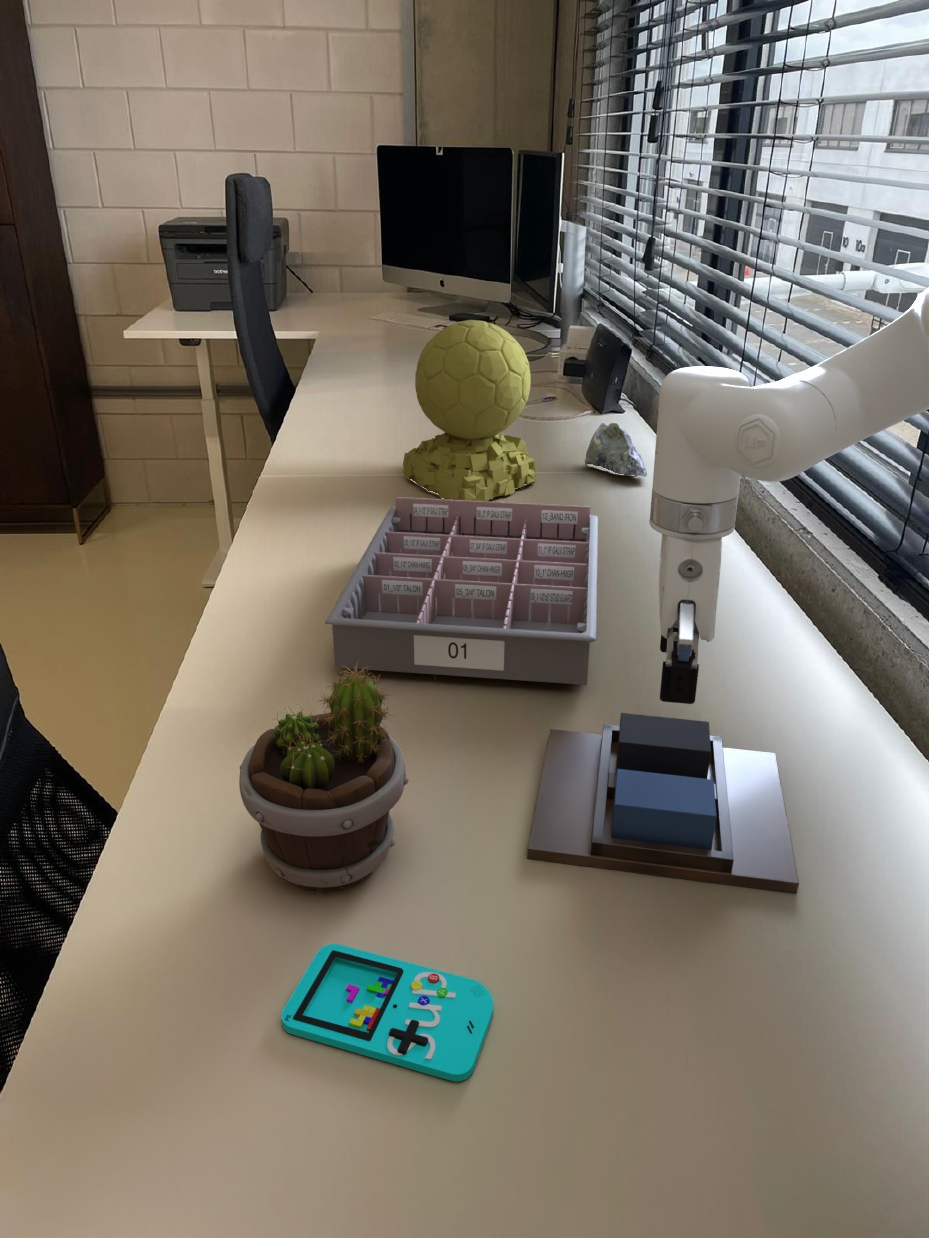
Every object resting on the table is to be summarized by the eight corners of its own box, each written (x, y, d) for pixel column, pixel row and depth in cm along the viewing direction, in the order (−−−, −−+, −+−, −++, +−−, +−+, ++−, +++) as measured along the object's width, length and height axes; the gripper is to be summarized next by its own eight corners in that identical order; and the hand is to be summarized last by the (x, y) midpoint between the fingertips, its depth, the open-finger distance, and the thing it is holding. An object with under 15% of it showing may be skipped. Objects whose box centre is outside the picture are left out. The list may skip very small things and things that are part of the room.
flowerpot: (258, 931, 79) (232, 732, 70) (243, 817, 92) (220, 637, 83) (426, 896, 83) (423, 703, 74) (389, 792, 96) (382, 617, 87)
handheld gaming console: (468, 1075, 66) (275, 1020, 70) (468, 1085, 66) (276, 1029, 70) (501, 984, 73) (324, 938, 77) (501, 993, 73) (325, 947, 78)
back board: (773, 762, 101) (777, 741, 100) (796, 893, 83) (802, 870, 82) (549, 737, 105) (550, 717, 104) (526, 858, 87) (527, 835, 86)
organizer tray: (328, 680, 116) (322, 607, 111) (392, 552, 151) (390, 493, 146) (592, 699, 112) (597, 624, 107) (594, 563, 147) (599, 503, 143)
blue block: (707, 817, 91) (713, 779, 89) (710, 855, 86) (716, 816, 84) (613, 805, 92) (617, 768, 90) (610, 842, 87) (614, 804, 85)
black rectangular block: (703, 757, 100) (709, 721, 98) (705, 788, 95) (711, 751, 93) (617, 747, 101) (620, 712, 99) (615, 778, 96) (618, 741, 94)
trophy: (477, 457, 195) (479, 306, 181) (552, 484, 180) (560, 322, 166) (389, 479, 182) (383, 318, 169) (461, 511, 167) (461, 337, 154)
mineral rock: (648, 485, 180) (653, 433, 175) (592, 485, 180) (596, 434, 175) (635, 464, 192) (639, 415, 187) (582, 464, 191) (585, 415, 187)
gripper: (743, 548, 77) (720, 726, 84) (730, 482, 92) (711, 638, 99) (649, 543, 78) (635, 719, 86) (651, 478, 93) (639, 632, 101)
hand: (676, 675), depth 92 cm, fingers open, 9 cm apart
